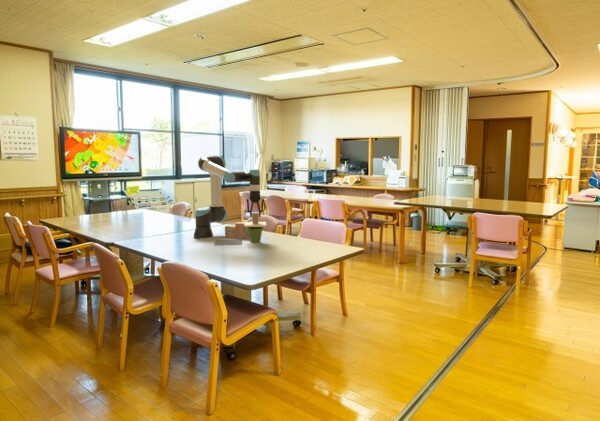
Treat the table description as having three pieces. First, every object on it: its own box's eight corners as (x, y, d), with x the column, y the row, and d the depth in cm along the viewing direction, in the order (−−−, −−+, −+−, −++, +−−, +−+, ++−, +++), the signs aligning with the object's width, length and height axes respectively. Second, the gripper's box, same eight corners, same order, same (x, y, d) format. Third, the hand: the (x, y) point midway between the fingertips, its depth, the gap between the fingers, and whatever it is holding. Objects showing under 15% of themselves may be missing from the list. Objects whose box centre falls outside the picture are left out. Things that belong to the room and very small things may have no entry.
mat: (215, 240, 314) (215, 239, 314) (242, 240, 317) (242, 239, 317) (214, 246, 294) (213, 245, 294) (242, 245, 297) (242, 244, 297)
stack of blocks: (224, 238, 326) (224, 222, 324) (227, 236, 332) (227, 221, 330) (250, 239, 321) (250, 223, 319) (252, 237, 327) (252, 222, 325)
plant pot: (248, 244, 301) (248, 229, 300) (247, 241, 313) (246, 226, 311) (264, 243, 303) (264, 228, 302) (262, 240, 315) (262, 226, 314)
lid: (244, 223, 313) (244, 211, 312) (265, 222, 315) (265, 211, 314) (244, 226, 297) (244, 214, 296) (266, 226, 299) (266, 214, 298)
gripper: (243, 190, 298) (243, 222, 301) (266, 190, 300) (267, 222, 303) (243, 190, 306) (243, 220, 309) (266, 189, 308) (266, 220, 311)
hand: (255, 221), depth 306 cm, fingers closed on lid, 4 cm apart
